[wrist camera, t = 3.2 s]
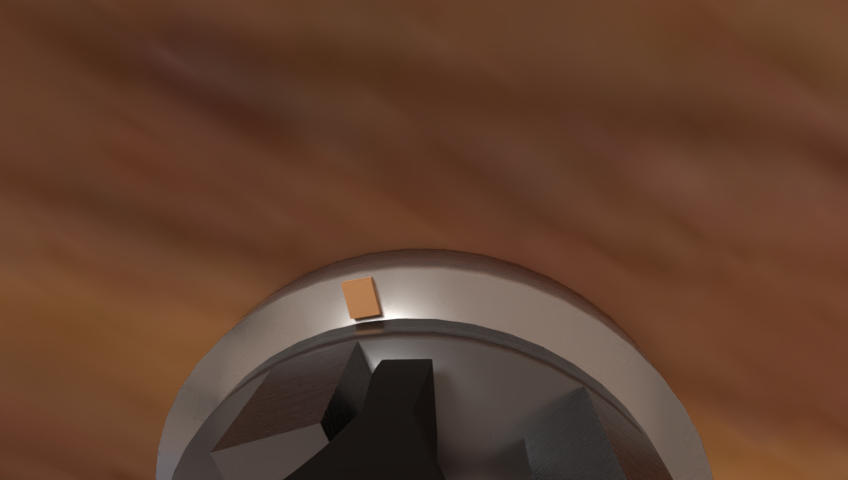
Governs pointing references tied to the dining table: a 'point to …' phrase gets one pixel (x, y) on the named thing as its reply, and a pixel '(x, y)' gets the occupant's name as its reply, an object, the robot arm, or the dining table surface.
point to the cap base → (446, 300)
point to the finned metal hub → (454, 399)
